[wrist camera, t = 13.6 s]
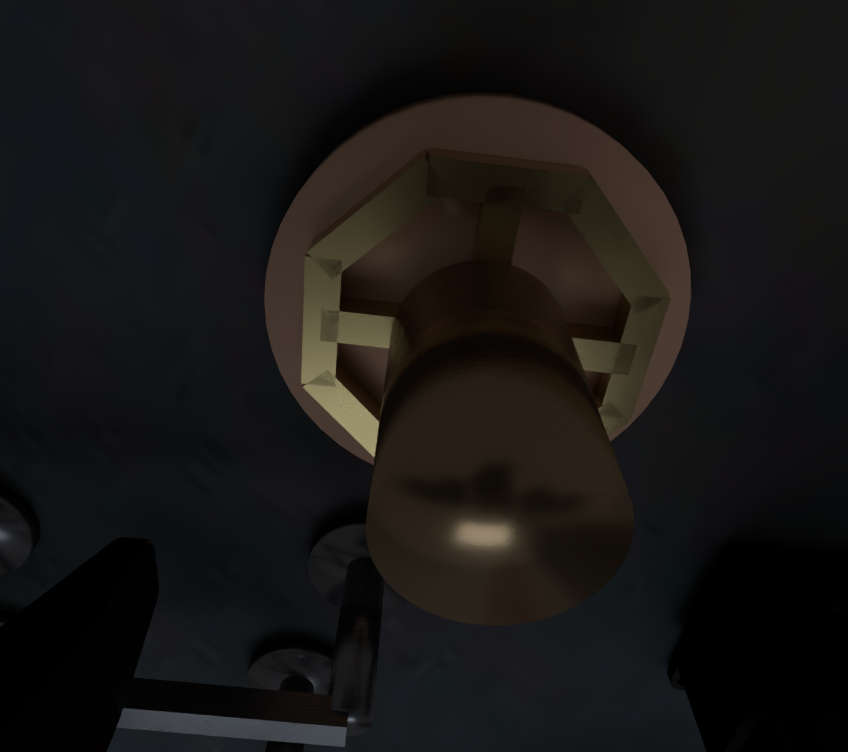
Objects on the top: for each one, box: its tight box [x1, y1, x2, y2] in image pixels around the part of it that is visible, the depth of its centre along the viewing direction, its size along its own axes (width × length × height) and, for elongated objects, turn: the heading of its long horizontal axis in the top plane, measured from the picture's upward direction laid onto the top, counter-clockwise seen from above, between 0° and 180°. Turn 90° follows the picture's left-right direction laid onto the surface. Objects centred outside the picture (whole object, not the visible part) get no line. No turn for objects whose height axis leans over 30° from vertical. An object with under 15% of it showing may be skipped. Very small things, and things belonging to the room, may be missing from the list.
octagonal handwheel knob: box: [301, 147, 670, 625], centre depth 13 cm, size 8×8×7 cm
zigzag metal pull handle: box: [0, 484, 407, 752], centre depth 20 cm, size 16×10×6 cm, turn 83°
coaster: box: [264, 91, 691, 465], centre depth 17 cm, size 10×10×1 cm
